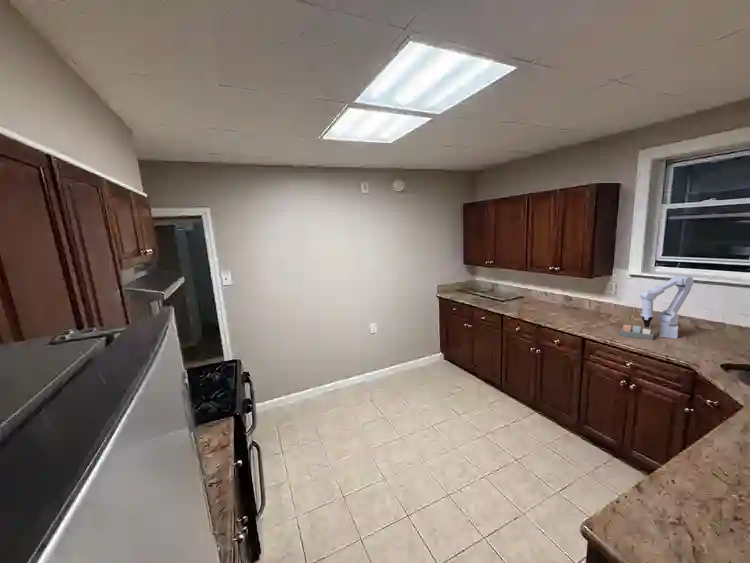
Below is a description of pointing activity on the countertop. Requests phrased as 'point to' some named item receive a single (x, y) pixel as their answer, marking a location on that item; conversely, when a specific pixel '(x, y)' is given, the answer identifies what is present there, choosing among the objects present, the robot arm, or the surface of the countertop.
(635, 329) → the key slate
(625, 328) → the key terracotta
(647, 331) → the key ivory
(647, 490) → the countertop surface
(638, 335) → the grey slotted frame
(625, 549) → the countertop surface
